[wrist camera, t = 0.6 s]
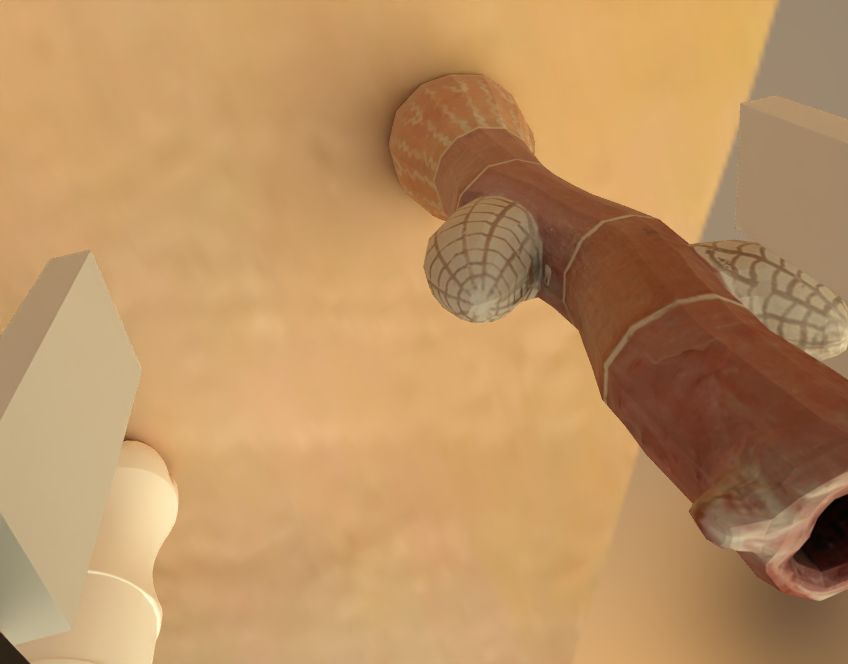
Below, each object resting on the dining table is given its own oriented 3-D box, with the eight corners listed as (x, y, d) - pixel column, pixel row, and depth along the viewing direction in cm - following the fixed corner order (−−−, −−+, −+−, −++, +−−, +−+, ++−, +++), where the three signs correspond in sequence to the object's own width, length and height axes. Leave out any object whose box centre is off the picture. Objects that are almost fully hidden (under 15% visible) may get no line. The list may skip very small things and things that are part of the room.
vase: (363, 191, 41) (540, 657, 15) (395, 51, 38) (691, 327, 12) (540, 226, 44) (950, 667, 18) (583, 99, 40) (1157, 405, 14)
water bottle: (176, 421, 45) (95, 876, 23) (188, 513, 48) (127, 987, 27) (47, 429, 44) (-164, 920, 22) (69, 524, 47) (-97, 1031, 25)
